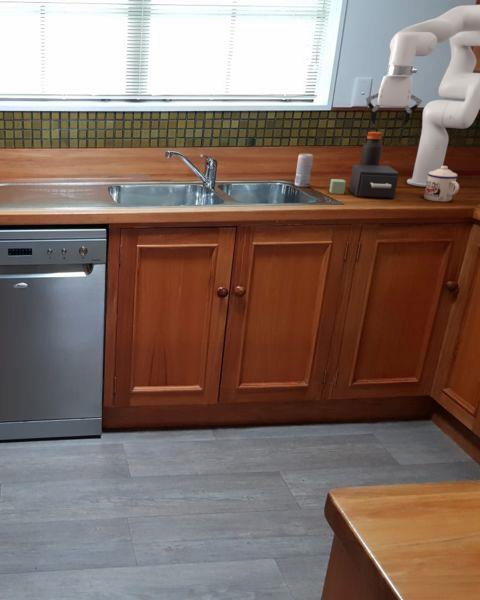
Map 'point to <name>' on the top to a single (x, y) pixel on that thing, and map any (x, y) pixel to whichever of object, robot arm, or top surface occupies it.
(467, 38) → the robot arm
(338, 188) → the block
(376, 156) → the bottle
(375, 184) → the black drawer unit
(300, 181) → the energy drink
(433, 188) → the teacup with lid
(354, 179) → the dark drawer box
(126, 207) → the top surface
